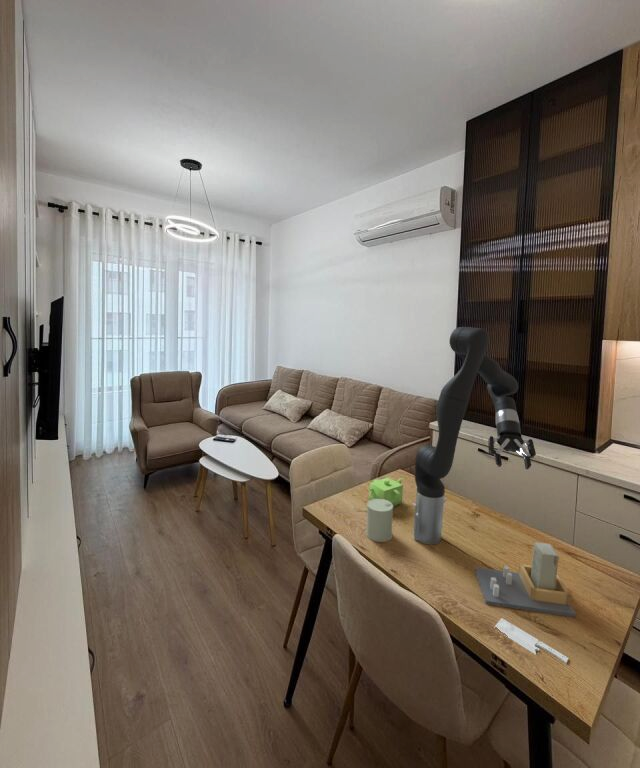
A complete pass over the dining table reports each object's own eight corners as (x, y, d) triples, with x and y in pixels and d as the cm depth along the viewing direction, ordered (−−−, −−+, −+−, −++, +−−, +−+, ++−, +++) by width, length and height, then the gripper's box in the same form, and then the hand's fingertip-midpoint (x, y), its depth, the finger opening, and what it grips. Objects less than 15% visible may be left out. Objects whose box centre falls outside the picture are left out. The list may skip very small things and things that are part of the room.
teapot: (402, 497, 160) (403, 474, 158) (405, 513, 146) (406, 489, 145) (367, 495, 162) (368, 472, 160) (366, 510, 149) (367, 486, 147)
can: (395, 540, 128) (397, 509, 126) (370, 543, 127) (371, 511, 125) (386, 526, 137) (388, 496, 135) (362, 528, 136) (363, 498, 134)
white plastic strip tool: (560, 674, 81) (561, 670, 81) (492, 631, 92) (492, 627, 92) (568, 660, 84) (568, 656, 84) (501, 620, 95) (501, 616, 95)
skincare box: (554, 596, 102) (560, 557, 100) (537, 594, 103) (542, 555, 100) (545, 580, 108) (550, 543, 106) (529, 578, 109) (534, 541, 107)
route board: (485, 603, 100) (487, 590, 100) (475, 570, 114) (476, 558, 113) (575, 617, 96) (577, 603, 95) (553, 580, 110) (554, 568, 109)
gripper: (488, 417, 130) (493, 460, 121) (532, 420, 127) (541, 464, 118) (484, 428, 136) (488, 469, 127) (526, 431, 133) (533, 473, 124)
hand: (513, 467), depth 123 cm, fingers open, 8 cm apart
